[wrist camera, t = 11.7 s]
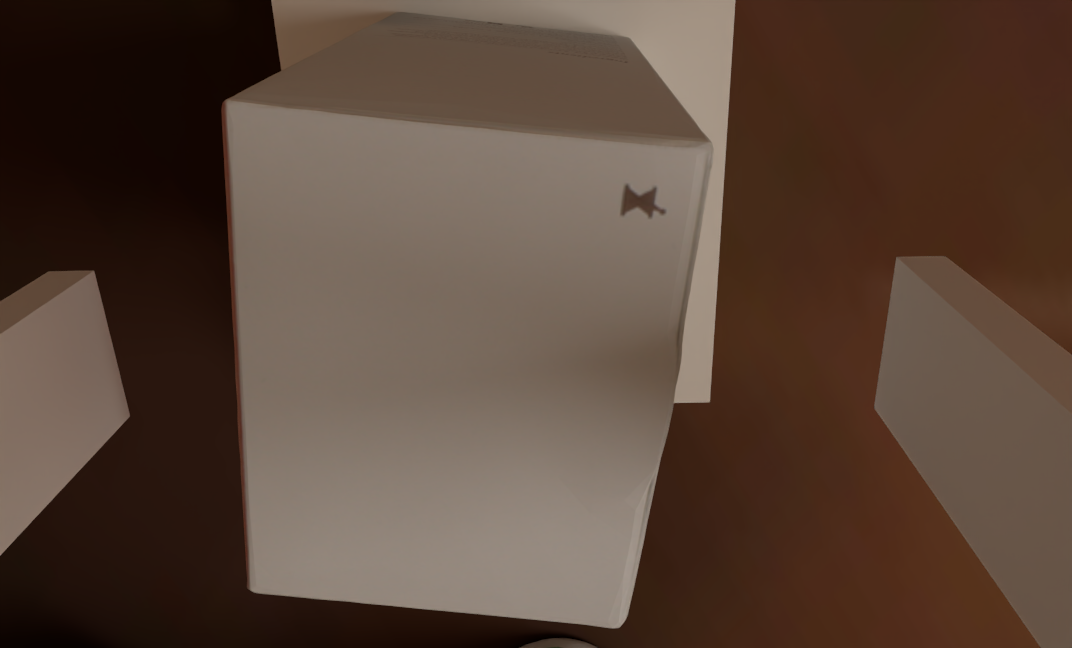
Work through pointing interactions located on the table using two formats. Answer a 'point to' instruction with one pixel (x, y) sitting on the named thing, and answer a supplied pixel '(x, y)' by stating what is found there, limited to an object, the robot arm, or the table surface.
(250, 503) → the small box
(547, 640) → the supplement bottle
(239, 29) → the table surface
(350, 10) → the pin tray
